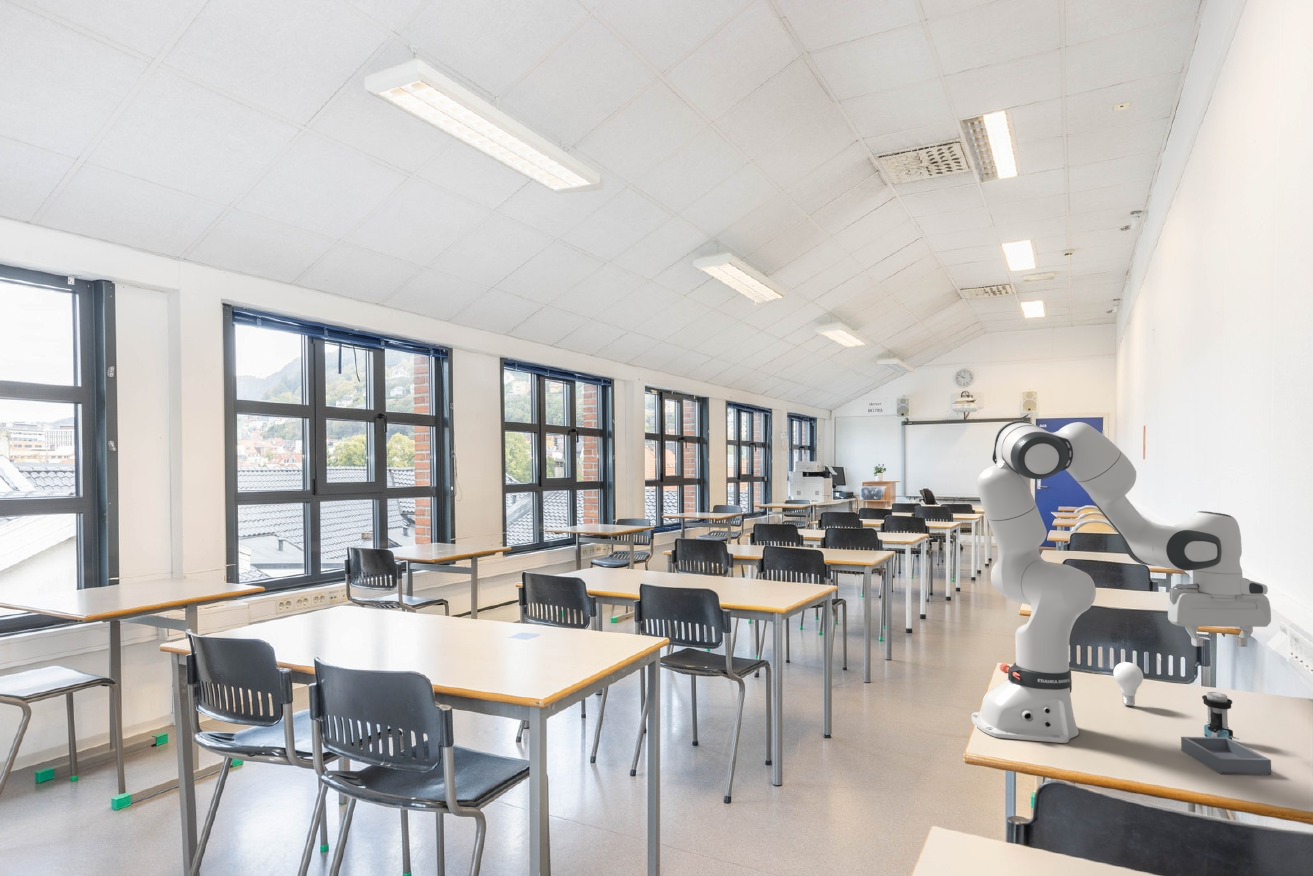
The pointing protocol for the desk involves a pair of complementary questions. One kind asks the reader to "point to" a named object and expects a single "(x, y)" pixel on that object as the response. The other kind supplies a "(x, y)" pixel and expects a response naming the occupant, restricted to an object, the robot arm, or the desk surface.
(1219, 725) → the push button
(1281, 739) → the desk surface
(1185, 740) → the tray
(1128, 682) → the lightbulb
